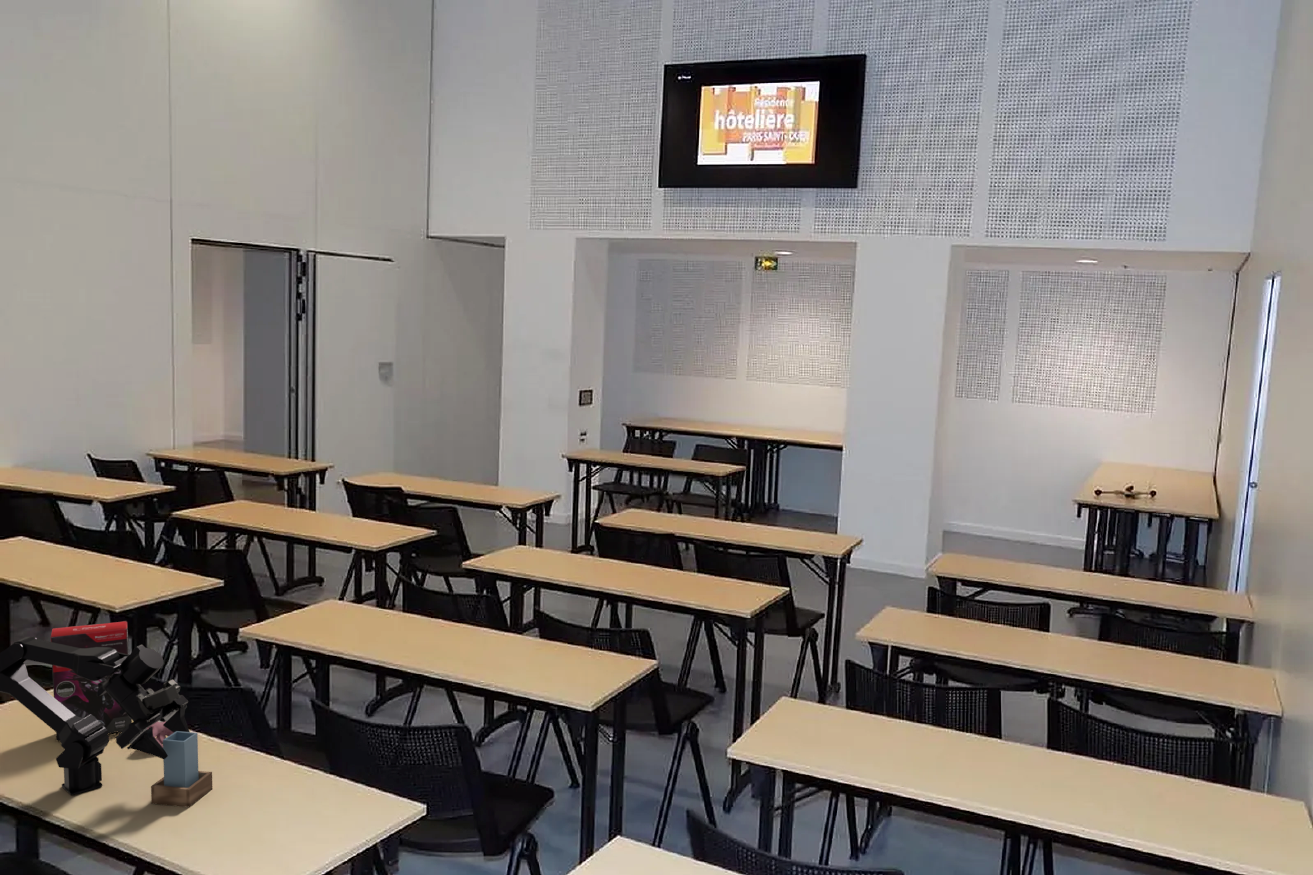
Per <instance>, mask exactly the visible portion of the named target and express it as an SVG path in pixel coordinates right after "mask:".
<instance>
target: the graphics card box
mask: <svg viewBox="0 0 1313 875" xmlns="http://www.w3.org/2000/svg"><path fill="white" fill-rule="evenodd" d="M128 629H129V628H128V621H127V620H123V621H118V622H117V621H115V622H106V623H97V624H96V623H94V624H85V625H75V626H65V627H54V628H52V630H51V634H50V642H53V643H58V644H62V645H67V646H72V647H77V648H94V647H110V648H113V649H115V650H117V652H119V653H124V654H128V655H130V653H129V652H130V651H129V630H128ZM51 669H52V689H53V691H52V692H53V697H54V698H55V699H56V700H58V701H59V702H60V703H61V704H62V705H64V706H65V707H66V708H67V709H68V710H70V711H71V712H72V713H73V714H75V715H76V716H78V717H81V718H85V717H86V716H88V715H90V714H91V715H93V716H94V717H95V718H96V719H97V720H98V721H99V722H101V723H103V724H105V726H103V727H105V728H106V729H107V730H108V732H109V734H113V733H114V734H115V733H121V732H122V731H123V730H124V729H125V728H126V727H127V726H128V725H129V724H130V723H132V722H133V720H132V719H131V718H130V717H129V716H128V715H127V714H126V713H125V714H124V715H121V714H120V713H119V711H120V710H121V709H122V708H121V707H120V706H119V705H118V704H117V703H116V701H115V700H114V699H113V698H112V697H111V696H110V695H109V694H108V693H107V692H106V693H104V694H102V695H101V696H97V690H98V683H100V682H102V681H104V680H106V681H107V680H108V679H109V678H110V677H111V676H112V675H113V674H116V673H120V672H121V671H120V670H118V671H117V672H115V673H113V674H111V675H109V676H106V677H104V678H102V679H100V680H98V681H91V680H88V679H85V678H83V677H80V676H78V675H77V674H76V673H75V672H74V671H73V670H71V669H68V668H64V667H59V666H55V665H51ZM55 736H56V738H55V739H56V742H57V741H59V742H60V738H59V735H58V734H57V733H56V732H55Z"/></svg>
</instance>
